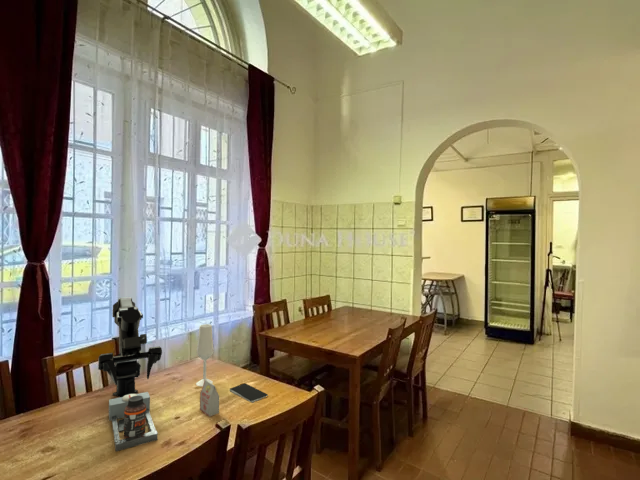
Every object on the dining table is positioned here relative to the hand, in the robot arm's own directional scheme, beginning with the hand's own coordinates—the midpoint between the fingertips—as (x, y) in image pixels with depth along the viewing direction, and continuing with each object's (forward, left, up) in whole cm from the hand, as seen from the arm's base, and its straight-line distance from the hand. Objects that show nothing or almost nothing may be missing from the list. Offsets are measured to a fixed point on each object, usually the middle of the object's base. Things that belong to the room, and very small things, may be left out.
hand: (132, 381), depth 114 cm
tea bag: (+16, +18, -14) cm, 28 cm away
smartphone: (+19, +36, -14) cm, 43 cm away
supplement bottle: (+7, -4, -14) cm, 16 cm away
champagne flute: (-3, +35, -14) cm, 38 cm away
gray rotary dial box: (-7, +4, -13) cm, 15 cm away
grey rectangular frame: (+4, -2, -13) cm, 14 cm away
